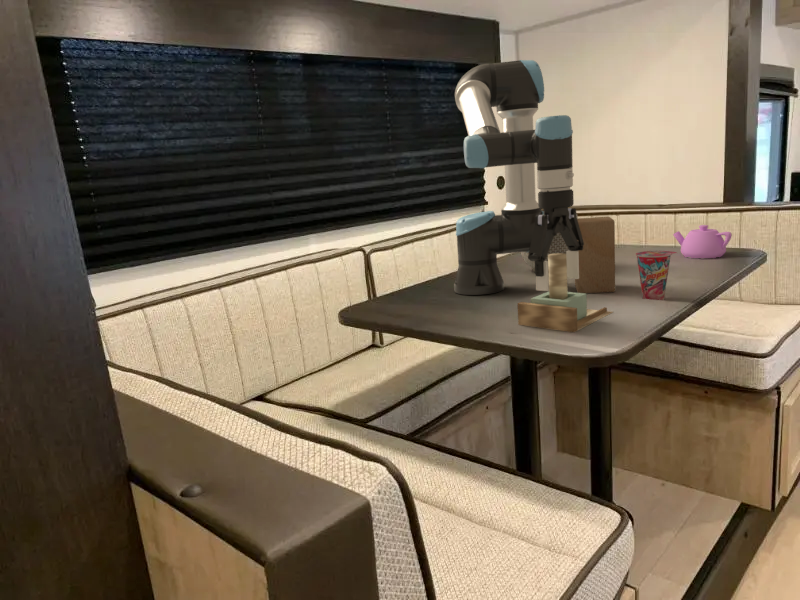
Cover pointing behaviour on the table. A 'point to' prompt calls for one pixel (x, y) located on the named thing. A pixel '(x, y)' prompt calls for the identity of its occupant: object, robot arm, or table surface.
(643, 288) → the cup
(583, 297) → the pale green hollow block
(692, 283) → the table surface
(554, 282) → the dowel
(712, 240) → the teapot
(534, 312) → the rail board
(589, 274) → the wooden block
